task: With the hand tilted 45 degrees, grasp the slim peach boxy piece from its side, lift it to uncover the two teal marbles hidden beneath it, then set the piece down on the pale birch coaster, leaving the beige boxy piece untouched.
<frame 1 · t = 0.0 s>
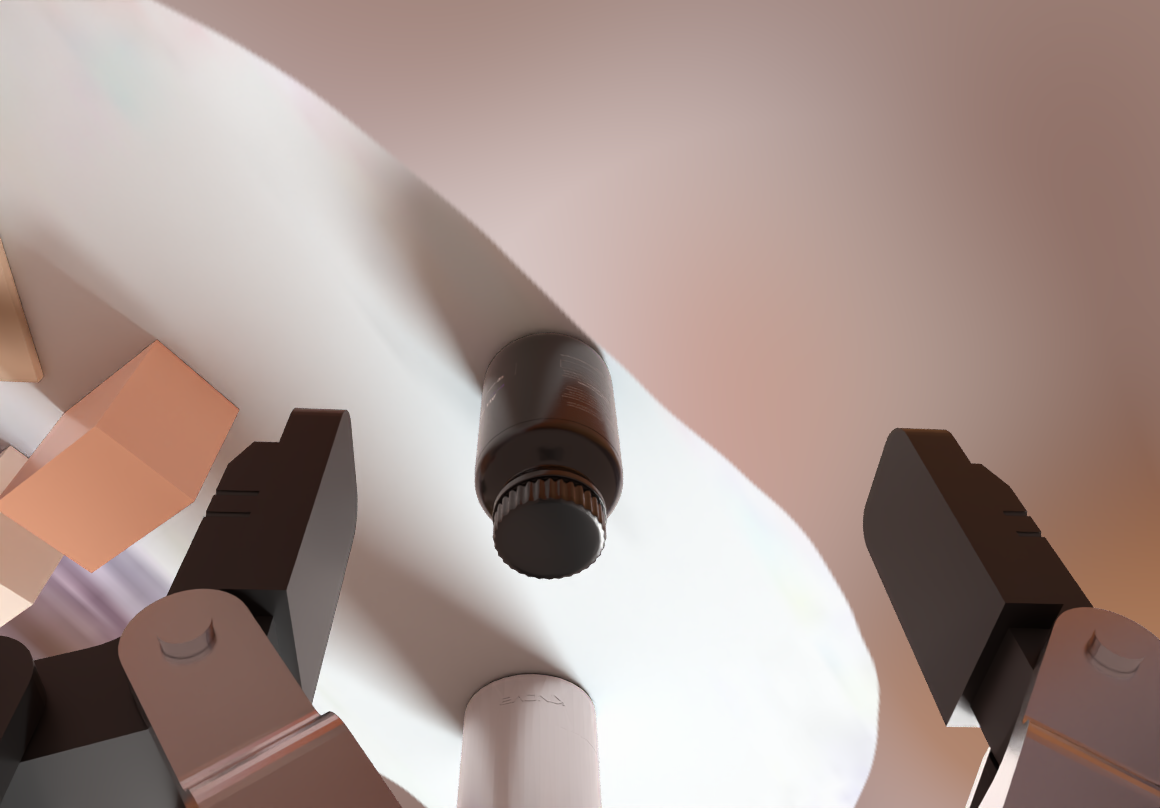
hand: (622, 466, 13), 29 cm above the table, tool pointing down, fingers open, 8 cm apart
peach boxy piece: (151, 411, 47), on the table
beige boxy piece: (12, 507, 50), on the table
supplement bottle: (547, 382, 47), on the table
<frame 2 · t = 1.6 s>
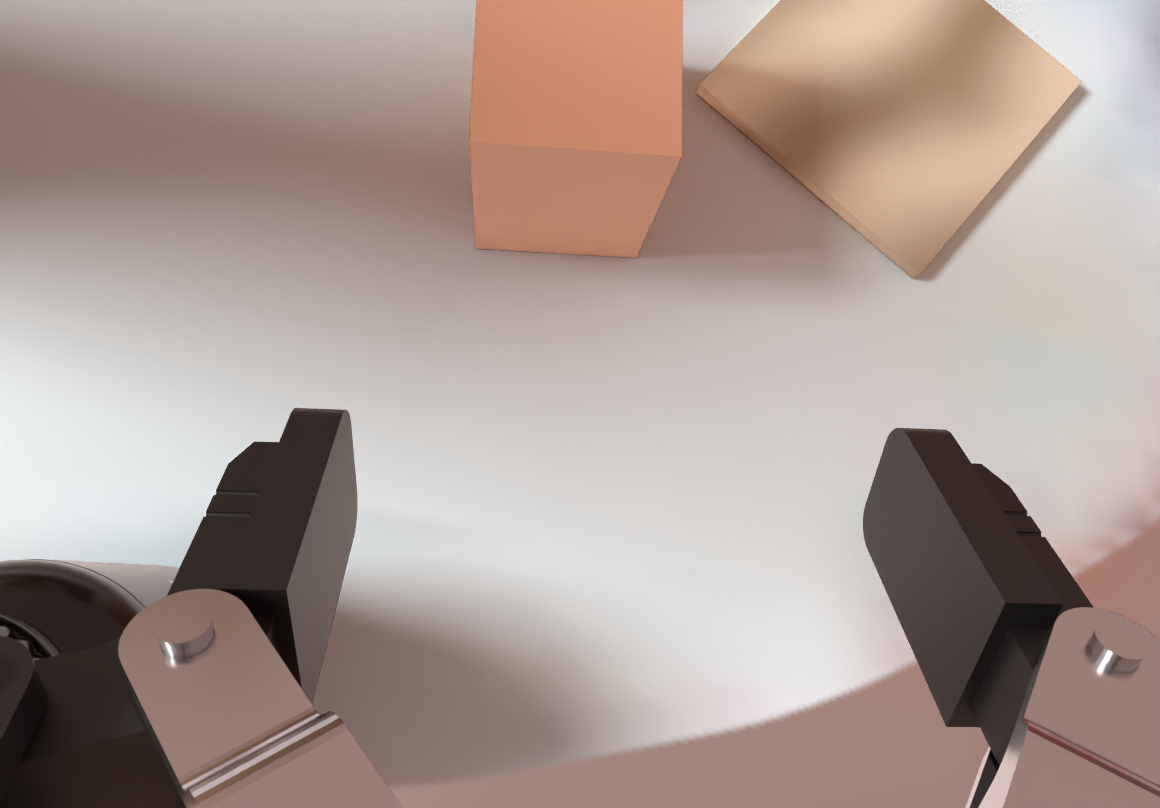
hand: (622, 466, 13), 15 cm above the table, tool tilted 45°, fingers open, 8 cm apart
peach boxy piece: (559, 150, 31), on the table
birch coaster: (887, 91, 32), on the table
supplement bottle: (158, 679, 26), on the table
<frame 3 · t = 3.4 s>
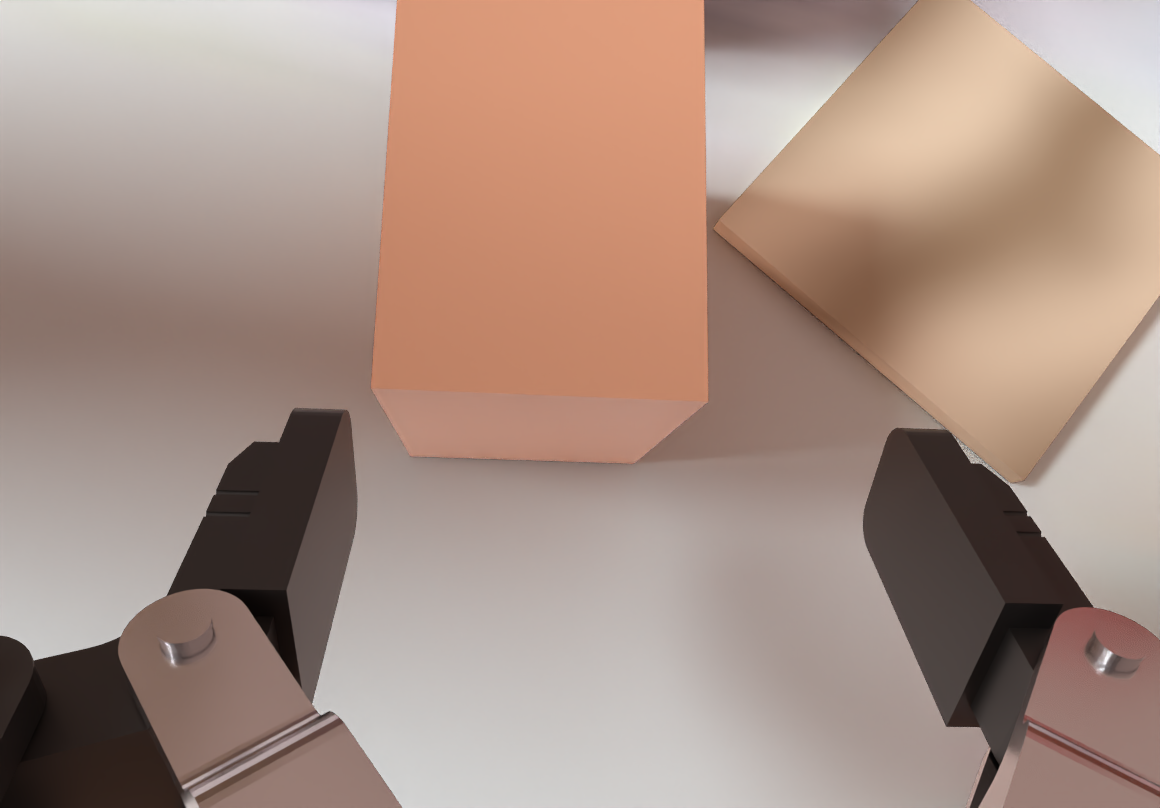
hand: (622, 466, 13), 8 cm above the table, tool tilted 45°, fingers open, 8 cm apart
peach boxy piece: (528, 313, 22), on the table
birch coaster: (968, 222, 24), on the table
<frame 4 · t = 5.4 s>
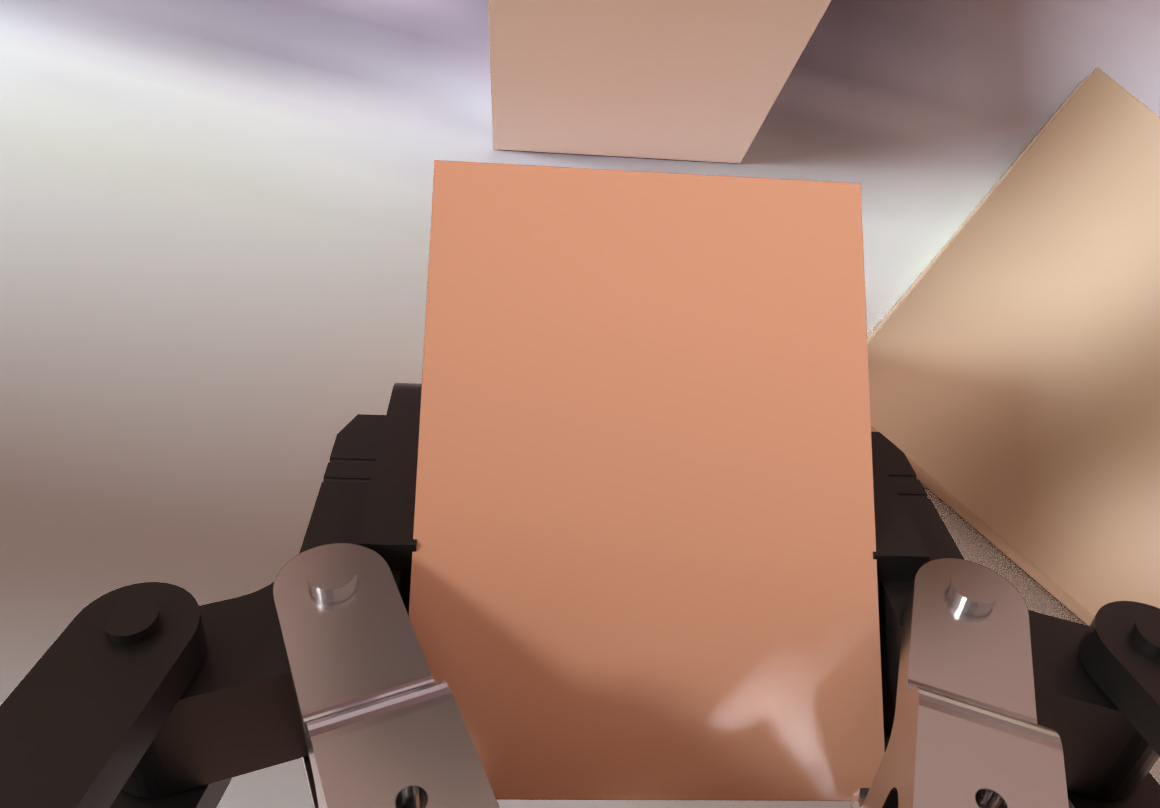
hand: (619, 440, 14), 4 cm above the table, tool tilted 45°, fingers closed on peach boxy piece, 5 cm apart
peach boxy piece: (592, 511, 18), on the table, touching gripper
beige boxy piece: (620, 4, 20), on the table
birch coaster: (1136, 379, 19), on the table
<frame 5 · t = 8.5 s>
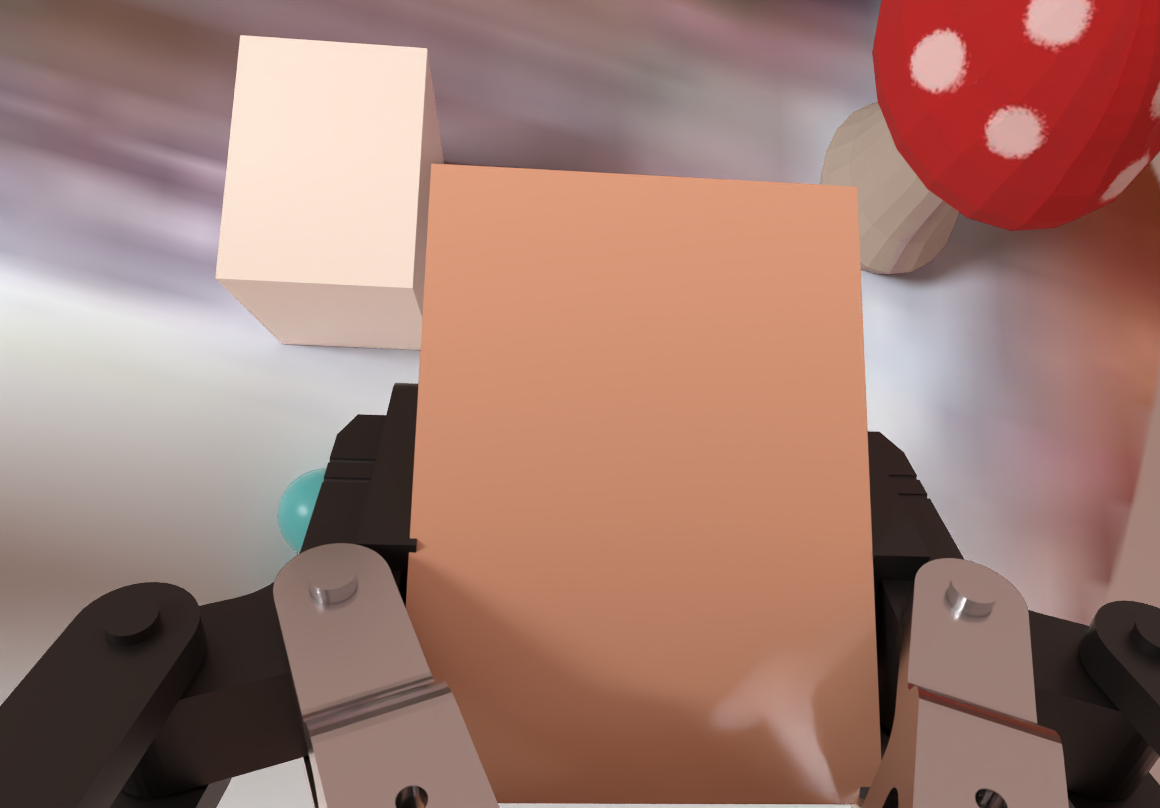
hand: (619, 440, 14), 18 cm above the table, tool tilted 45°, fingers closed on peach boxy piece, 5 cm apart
teal marble A: (333, 516, 31), on the table
peach boxy piece: (589, 513, 18), point 14 cm above the table, touching gripper
beige boxy piece: (365, 249, 33), on the table
decorative mushroom: (874, 202, 35), on the table
when the fingers open (6 cm above the table, at t = 11.7 s): peach boxy piece stays where it is, resting on birch coaster.
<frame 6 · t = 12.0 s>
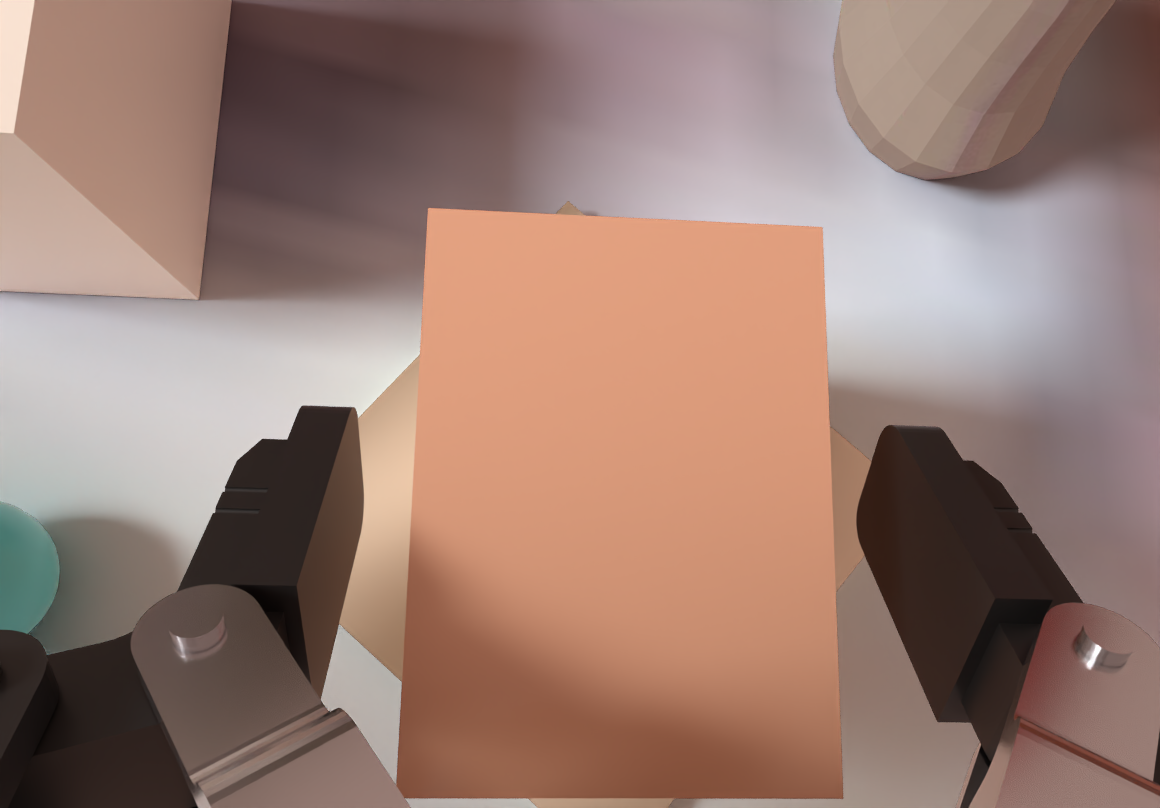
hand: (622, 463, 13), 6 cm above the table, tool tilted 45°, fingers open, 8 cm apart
teal marble A: (11, 578, 18), on the table
peach boxy piece: (580, 524, 19), point 1 cm above the table, touching birch coaster
beige boxy piece: (93, 137, 20), on the table
birch coaster: (586, 517, 19), on the table
decorative mushroom: (921, 71, 22), on the table
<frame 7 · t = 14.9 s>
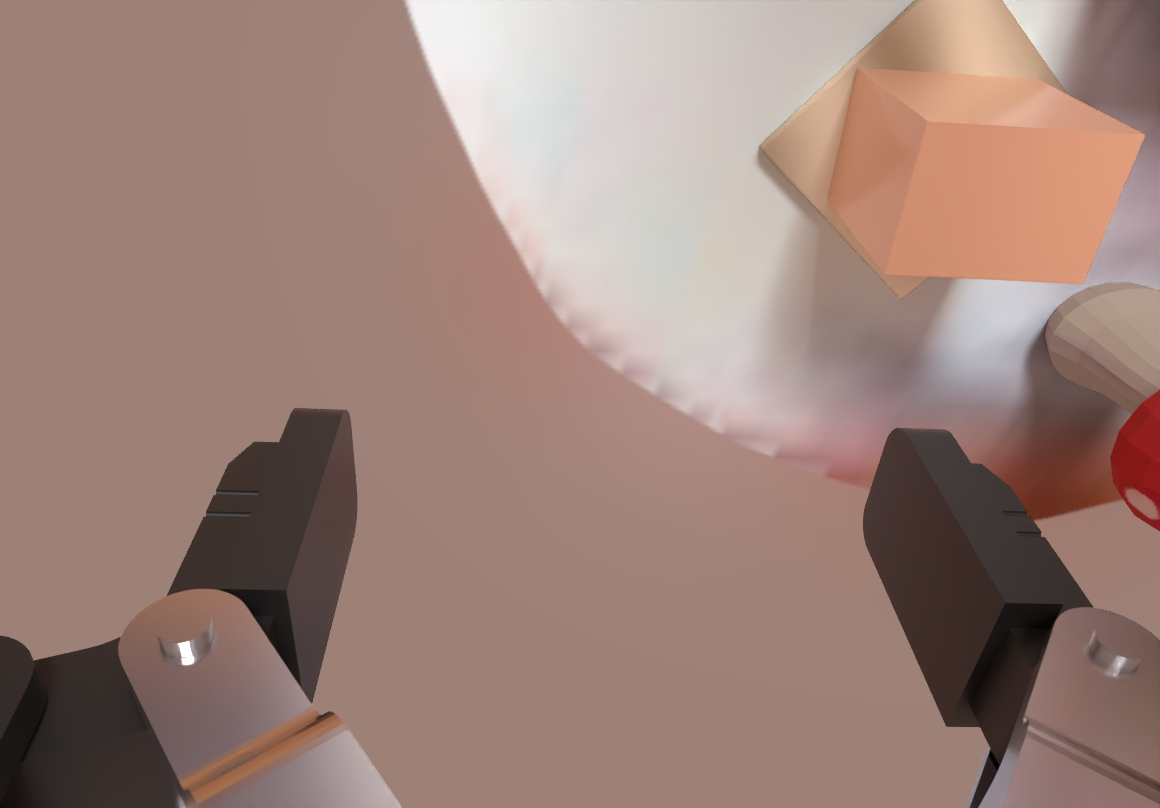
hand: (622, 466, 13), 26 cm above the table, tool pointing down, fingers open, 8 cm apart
peach boxy piece: (928, 141, 37), point 1 cm above the table, touching birch coaster
birch coaster: (926, 141, 37), on the table
decorative mushroom: (1104, 325, 43), on the table
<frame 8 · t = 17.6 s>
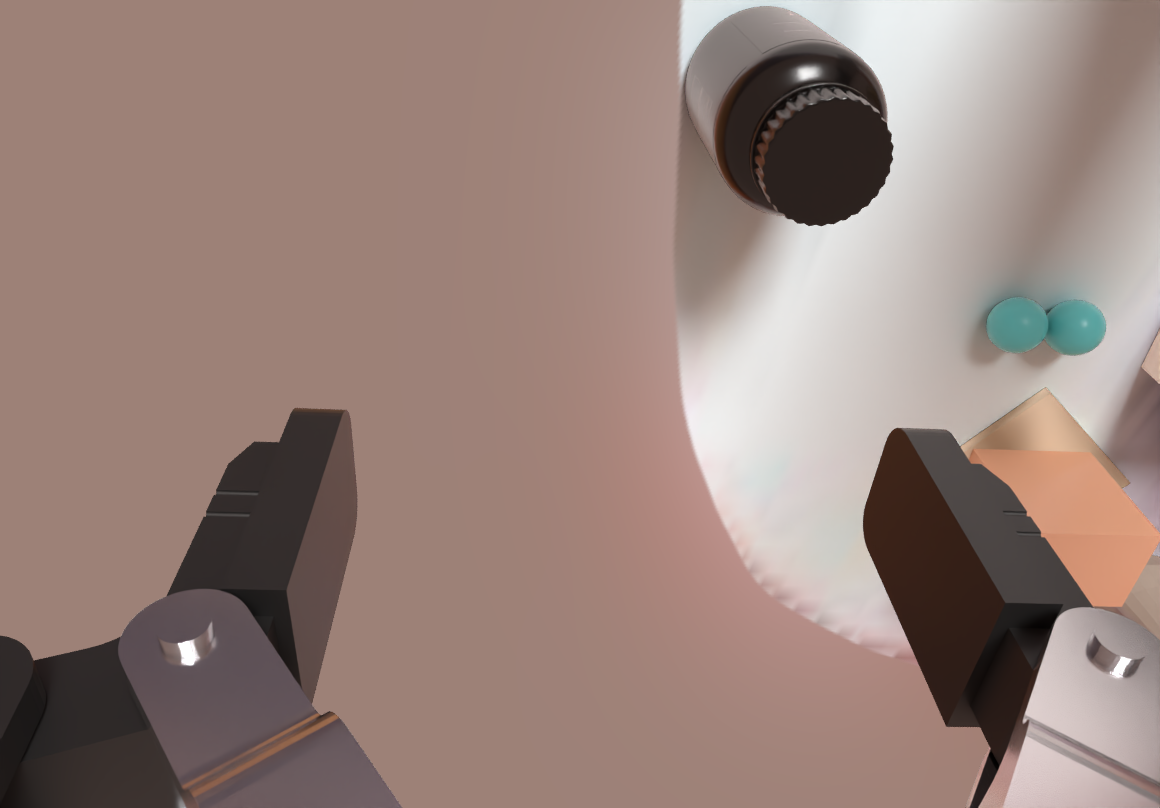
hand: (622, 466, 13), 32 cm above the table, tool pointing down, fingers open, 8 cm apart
teal marble A: (1060, 314, 49), on the table
teal marble B: (1004, 312, 49), on the table
peach boxy piece: (1017, 485, 55), point 1 cm above the table, touching birch coaster
birch coaster: (1014, 481, 56), on the table
decorative mushroom: (1130, 577, 62), on the table
supplement bottle: (755, 79, 42), on the table
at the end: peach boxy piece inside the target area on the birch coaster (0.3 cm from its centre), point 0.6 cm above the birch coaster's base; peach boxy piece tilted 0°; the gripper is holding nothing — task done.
